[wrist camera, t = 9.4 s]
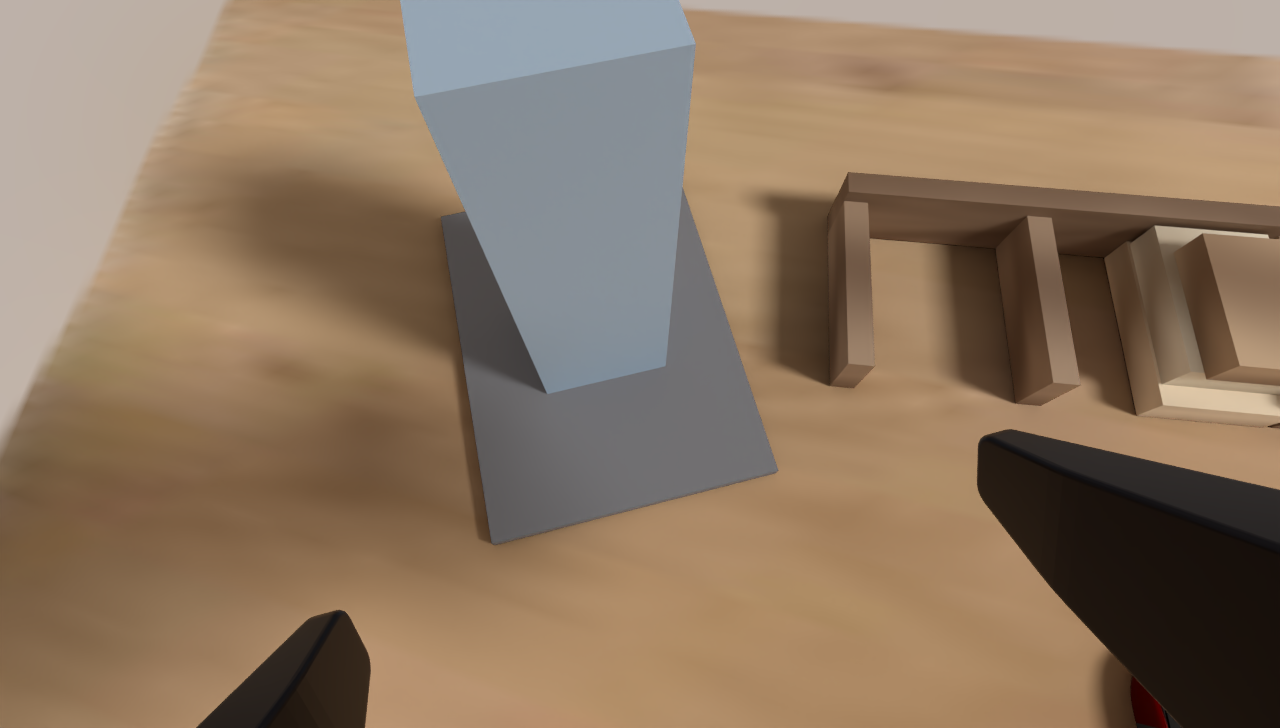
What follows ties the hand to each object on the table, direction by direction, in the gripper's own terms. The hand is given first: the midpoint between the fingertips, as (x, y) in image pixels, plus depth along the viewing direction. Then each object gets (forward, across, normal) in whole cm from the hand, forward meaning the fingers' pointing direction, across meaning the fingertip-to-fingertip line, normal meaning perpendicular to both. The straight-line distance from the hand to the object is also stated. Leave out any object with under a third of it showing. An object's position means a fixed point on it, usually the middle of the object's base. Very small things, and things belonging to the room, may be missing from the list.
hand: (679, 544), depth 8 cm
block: (+13, 0, +1) cm, 13 cm away
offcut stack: (+10, -19, +5) cm, 22 cm away
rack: (+11, -15, +4) cm, 19 cm away
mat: (+13, 0, +2) cm, 13 cm away
